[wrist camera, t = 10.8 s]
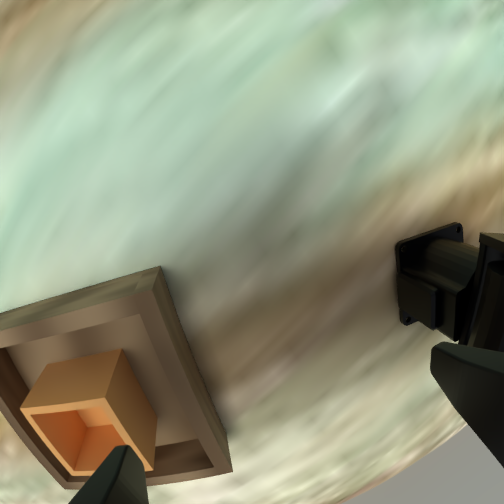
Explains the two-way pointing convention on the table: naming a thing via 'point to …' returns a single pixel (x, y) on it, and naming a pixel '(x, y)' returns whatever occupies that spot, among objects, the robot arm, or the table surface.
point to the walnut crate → (139, 357)
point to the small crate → (91, 411)
